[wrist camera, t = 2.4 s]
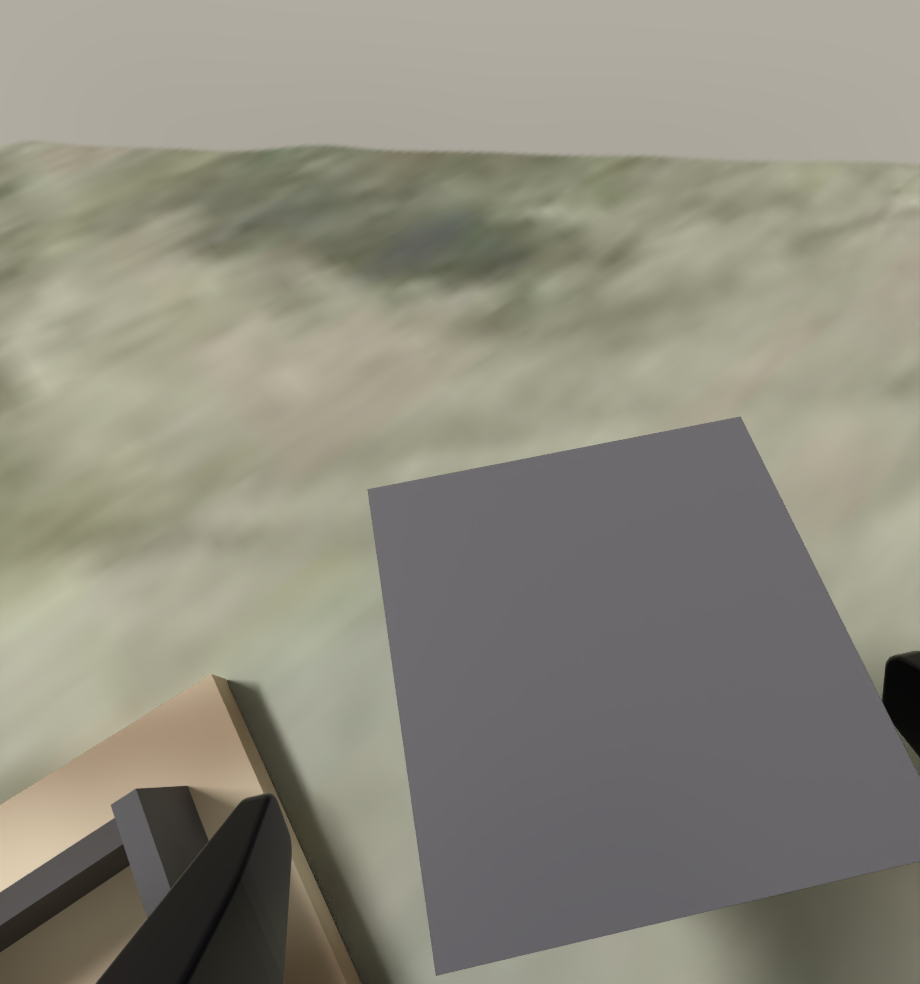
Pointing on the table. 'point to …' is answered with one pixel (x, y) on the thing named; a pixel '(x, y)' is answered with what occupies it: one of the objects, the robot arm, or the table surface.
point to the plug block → (625, 696)
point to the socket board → (139, 844)
